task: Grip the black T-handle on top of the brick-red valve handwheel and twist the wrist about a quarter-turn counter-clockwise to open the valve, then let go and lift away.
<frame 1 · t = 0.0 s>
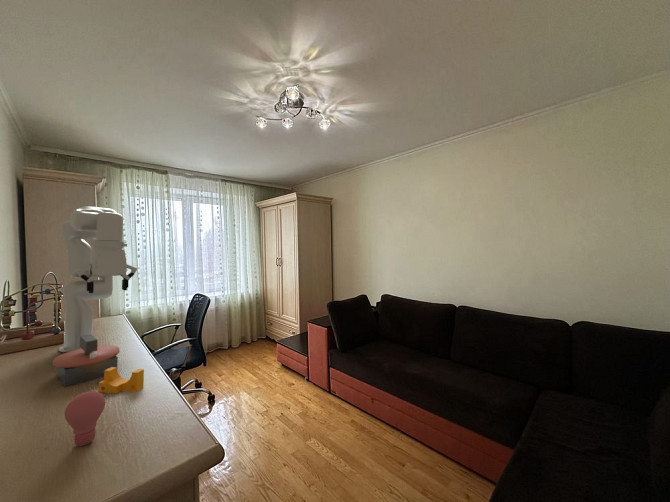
hand: (108, 291, 97), 31 cm above the table, tool pointing down, fingers open, 9 cm apart
pipe clamp: (121, 390, 87), on the table
handwheel: (88, 347, 97), point 10 cm above the table, hinge at 0.0°
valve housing: (87, 374, 97), on the table
light bulb: (84, 443, 63), on the table
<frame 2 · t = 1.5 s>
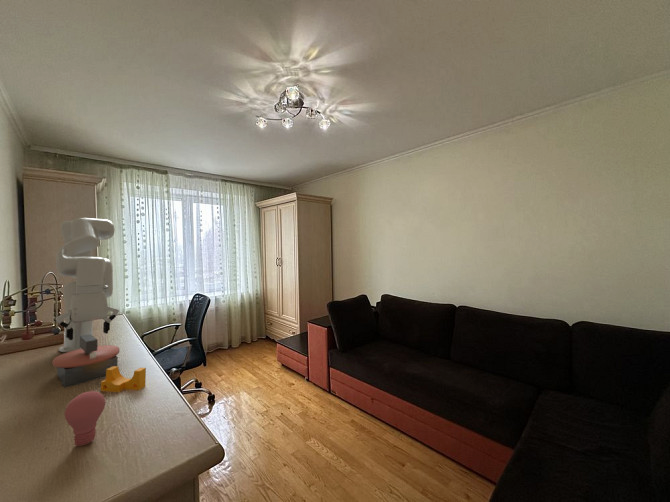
hand: (88, 336, 97), 14 cm above the table, tool pointing down, fingers open, 9 cm apart
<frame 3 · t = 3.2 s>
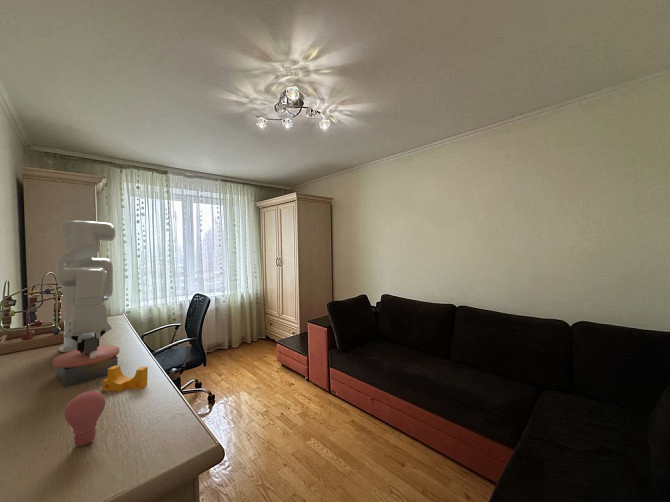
hand: (88, 350, 97), 9 cm above the table, tool pointing down, fingers closed on handwheel, 3 cm apart
handwheel: (88, 347, 97), point 10 cm above the table, hinge at 0.0°, touching gripper
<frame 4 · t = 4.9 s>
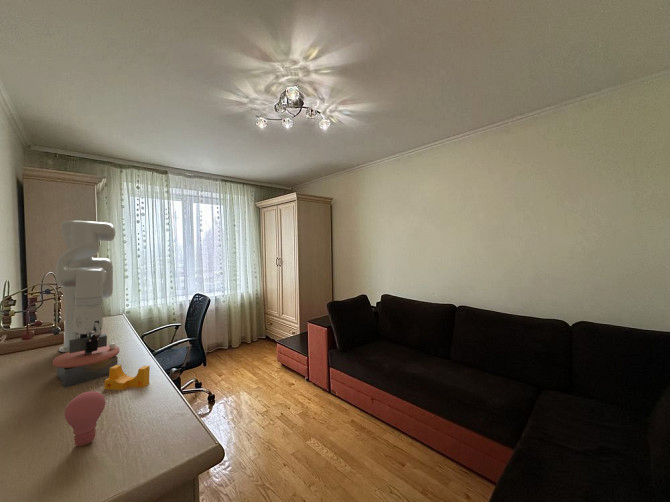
hand: (87, 350, 97), 9 cm above the table, tool pointing down, fingers closed on handwheel, 4 cm apart
handwheel: (88, 347, 97), point 10 cm above the table, hinge at 86.1°, touching gripper
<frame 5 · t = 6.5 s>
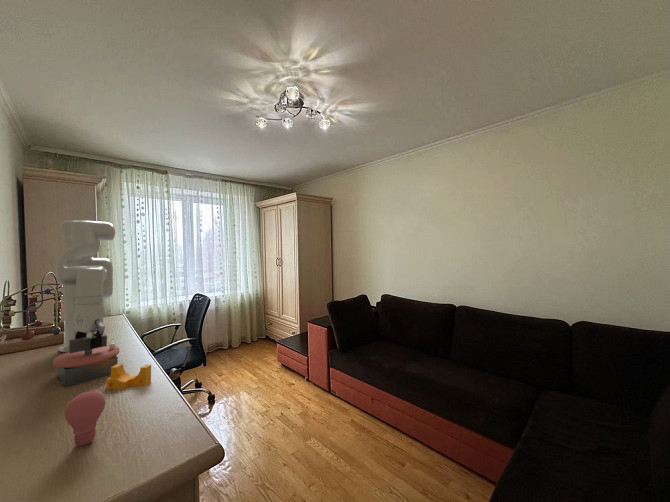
hand: (88, 345, 97), 11 cm above the table, tool pointing down, fingers open, 9 cm apart
handwheel: (88, 347, 97), point 10 cm above the table, hinge at 86.5°
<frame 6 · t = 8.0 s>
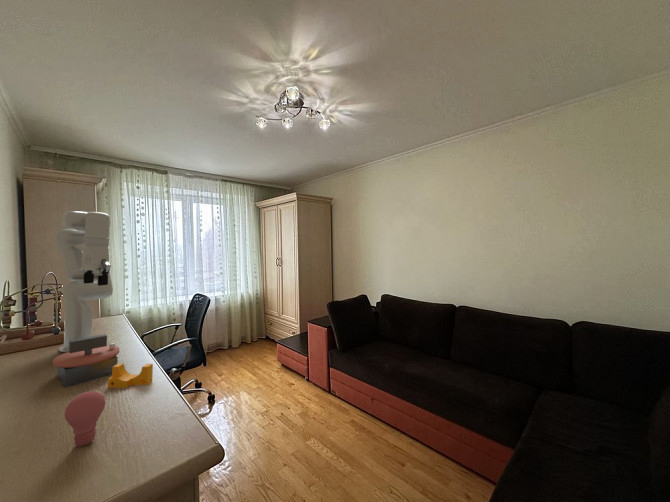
hand: (95, 284, 107), 33 cm above the table, tool pointing down, fingers open, 9 cm apart
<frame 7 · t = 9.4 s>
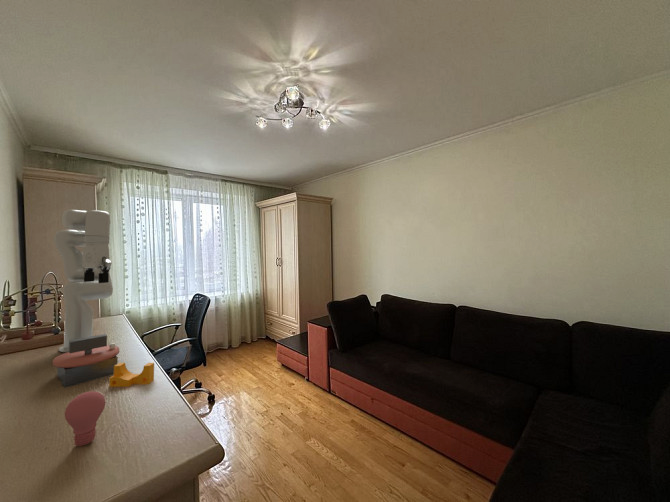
hand: (96, 282, 107), 33 cm above the table, tool pointing down, fingers open, 9 cm apart
at the end: handwheel at +86° (first picture: +0°); the gripper is holding nothing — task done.
